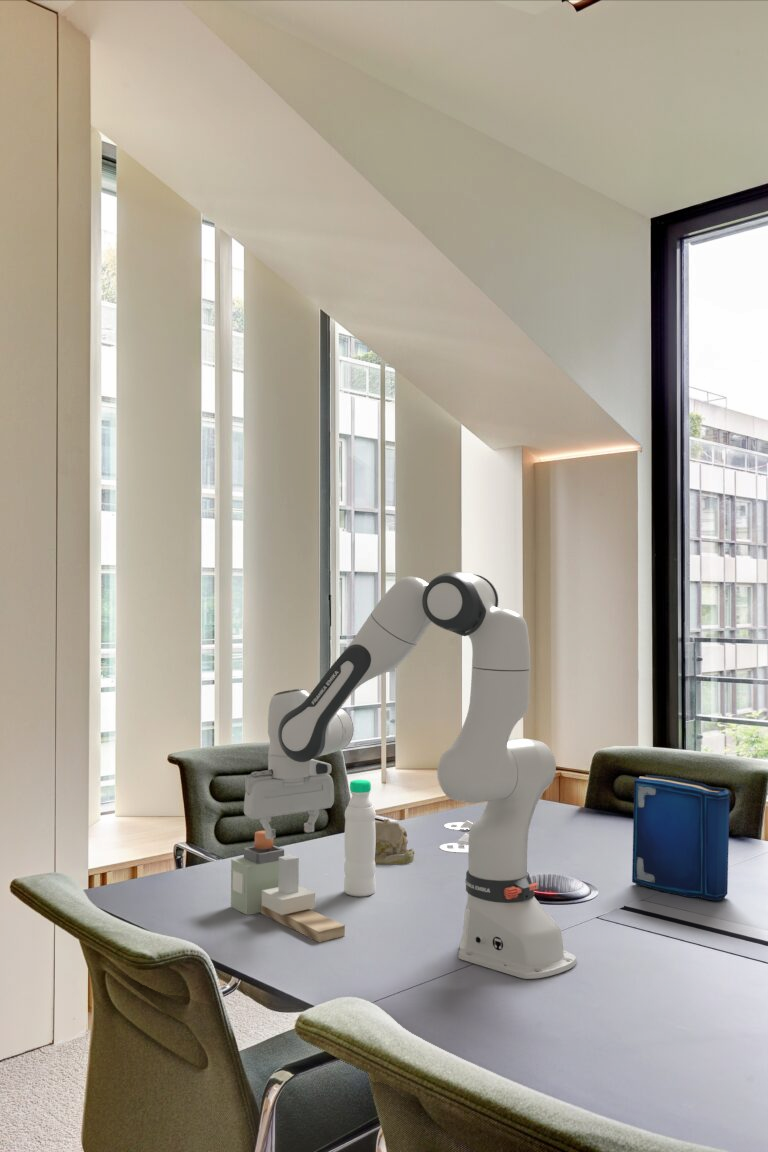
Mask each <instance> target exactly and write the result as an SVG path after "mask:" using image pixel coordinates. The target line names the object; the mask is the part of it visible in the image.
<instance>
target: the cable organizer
mask: <svg viewBox="0 0 768 1152" xmlns="http://www.w3.org/2000/svg"><path fill="white" fill-rule="evenodd" d="M473 823H474V822H471V821H469V820H468V819H466V820H465V822H461V821H460V822H458V821H457V822H456V821H455V822H447V823H445V824H444V825H443V827H444V829H448V830H453V829H454V830H453V831H461V830H460V829H464V830H463V831H469V830H470V828H471V827H472V825H473ZM453 826H455V827H453ZM466 829H468V830H466ZM459 842H467V843H459ZM468 843H469V833H464V834H463V835H462V836H461V837H460V838H459V839H458V840H457V842H449V843H443V844H440V846H439V850H441V851H444V852H448V853H454V852H456V853H457V854H458V853H459V854H468ZM448 847H452V848H448ZM459 847H463V848H459Z"/></svg>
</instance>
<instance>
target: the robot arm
mask: <svg viewBox="0 0 768 1152" xmlns="http://www.w3.org/2000/svg"><path fill="white" fill-rule="evenodd" d="M498 606H499V595H498V592H497V589H496V587H495V586H494V584H493V583H492V582H491V581H489V579H487V578H485V577H484V576H482V575H479V574H475V573H470V572H466V571H457V572H456V571H455V572H444V573H441V574H439V575H437V576H436V577H434V578H433V579H431V580H430V582H429V583H428V582H427V581H425V580H424V579H422V578H419V577H416V576H410V575H409V576H404V577H401V578H399V580H397V582H395V583H394V584H393V585H392V586H391V587H390V589H388V590H387V592H386V593H385V594H384V595H383V596H382V597H381V599H380V600H379V601H378V602H377V604H376V605H375V607H374V608H373V610H372V611H371V613H370V614H369V616H368V617H367V618H366V620H365V622H364V623H363V624H362V626H361V627H360V628H359V630H358V632H357V633H356V634H355V637H353V639H352V640H351V641H350V643H348V645H347V647H346V648H345V649H344V651H343V652H342V653H341V655H339V657H338V658H336V661H334V662H333V664H332V665H331V667H330V668H328V670H327V672H326V673H324V676H322V678H321V679H320V681H319V682H318V683H317V684H316V686H315V687H314V689H313V690H312V691H311V692H310V693H309V691H307V690H306V689H303V688H295V689H290V690H289V689H288V690H283V691H279V692H277V693H274V694H273V695H272V697H270V698H271V699H270V702H269V707H268V716H267V717H268V718H267V734H268V738H269V748H268V753H267V754H268V755H267V760H268V761H267V762H268V763H267V770H266V769H265V770H261V771H252V772H251V773H250V774H249V775H248V776H247V777H246V778H245V781H244V783H245V784H244V786H245V788H244V790H245V794H244V799H243V800H244V801H243V813H244V816H246V817H247V818H249V819H252V820H259V822H260V824H261V826H262V828H263V829H264V831H265V838H266V839H273V840H274V839H275V838H276V836H277V835H276V829H274V828H272V826H271V824H270V823H271V822H272V817H278V816H279V817H280V816H285V815H290V814H291V815H292V814H297V813H303V812H307V814H308V815H309V817H308V819H307V822H304V823H303V827H304V828H303V832H304V833H307V834H308V833H314V832H315V823H316V821H317V820H318V817H319V815H320V810H324V809H325V810H326V809H330V808H332V806H333V805H334V803H335V788H334V785H335V784H334V780H333V777H332V776H331V775H330V774H331V773H332V764H330V763H328V762H325V761H321V760H318V759H317V758H318V757H322V756H325V755H330V754H333V753H336V752H339V751H340V750H343V749H345V748H346V747H347V746H348V745H349V744H350V743H351V742H352V739H353V736H354V723H353V720H352V717H351V716H350V714H349V713H348V711H346V710H345V709H344V708H342V707H343V706H344V704H345V703H346V702H347V701H348V699H349V698H350V697H351V695H352V694H353V693H354V692H355V691H356V690H357V689H358V688H359V687H361V685H363V684H364V683H367V682H368V681H370V680H372V679H374V678H376V677H379V676H381V675H384V674H386V673H388V672H390V671H394V670H396V668H398V667H399V666H400V665H401V664H402V663H403V662H404V661H405V660H407V658H408V657H409V656H410V654H412V652H413V650H414V649H416V648H415V647H417V646H418V644H419V642H420V640H421V639H422V637H424V635H425V633H426V631H427V630H428V629H429V628H430V627H431V626H433V625H435V626H437V627H438V628H441V629H444V630H446V631H449V632H452V633H455V634H457V635H459V636H462V637H467V636H468V638H469V640H470V643H471V647H472V656H471V657H472V659H471V679H470V682H471V683H470V694H469V695H470V697H469V703H468V704H469V706H468V711H467V715H466V718H465V721H464V722H463V726H462V728H461V729H460V732H459V734H458V735H457V737H456V739H455V740H454V741H453V743H452V744H451V746H450V747H448V748H447V749H446V750H445V751H444V753H443V754H442V755H441V756H440V758H439V761H438V764H437V773H436V774H437V781H438V784H439V786H440V789H441V790H442V792H443V794H445V796H446V797H447V798H448V799H449V800H452V801H456V802H460V803H461V802H463V803H472V804H478V803H485V802H487V803H486V806H485V808H484V810H483V812H482V814H481V815H480V816H479V818H478V819H477V820H475V822H473V823H474V824H473V825H472V827H471V828H470V831H469V830H468V831H469V832H468V835H469V843H467V844H468V853H467V854H468V855H467V856H468V857H467V858H468V869H467V871H466V873H465V881H464V882H465V891H466V893H467V900H466V905H465V910H464V919H463V926H462V935H461V939H460V942H459V950H458V959H460V960H462V961H465V962H468V963H472V964H474V965H478V966H481V967H485V968H488V969H491V970H493V971H498V972H501V973H504V974H507V975H511V976H514V977H517V978H520V979H523V980H526V979H527V980H531V979H532V980H533V979H541V978H547V977H551V976H554V975H557V974H561V973H563V972H567V971H568V970H570V969H573V968H574V967H575V966H576V965H577V964H578V963H577V962H578V961H577V956H576V955H574V954H573V953H570V952H569V951H567V950H565V949H564V941H563V940H564V939H563V934H562V930H561V927H560V926H559V925H558V923H557V922H556V921H555V920H554V919H553V918H552V917H551V915H550V914H549V913H548V911H547V910H546V909H545V908H544V907H543V906H542V905H541V903H540V902H539V900H537V898H536V897H535V890H538V889H539V887H537V886H538V885H539V882H534V883H533V882H532V879H531V877H530V874H529V873H528V843H529V832H530V827H531V822H532V819H533V816H534V813H535V810H536V807H537V806H538V803H539V801H540V799H541V797H542V795H543V793H544V792H545V791H546V790H547V789H548V788H549V787H550V785H552V784H553V782H554V779H555V777H556V772H557V770H556V769H557V766H556V765H557V762H556V759H555V756H554V753H553V752H552V749H551V748H550V747H549V746H548V745H547V744H546V743H544V742H543V741H541V740H537V739H536V740H535V739H531V738H523V737H516V738H510V737H511V734H512V732H513V730H514V728H515V726H516V725H517V723H518V722H519V721H520V720H522V719H523V718H524V717H525V716H526V714H527V713H528V710H529V708H530V689H531V688H530V687H531V686H530V685H531V662H532V661H531V660H532V659H531V646H530V636H529V635H530V634H529V630H528V624H527V621H526V619H525V618H524V616H522V615H521V614H520V613H518V612H516V611H514V610H510V609H507V608H499V607H498Z"/></svg>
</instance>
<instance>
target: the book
mask: <svg viewBox="0 0 768 1152" xmlns="http://www.w3.org/2000/svg"><path fill="white" fill-rule="evenodd" d="M633 783H634V784H633V785H634V786H633V787H634V789H633V821H632V822H633V828H632V829H633V832H632V867H631V868H632V870H631V878H632V879H631V882H632V883H633V884H636V885H640V886H642V887H643V886H644V887H647V888H650V889H652V890H657V891H659V892H664V893H667V894H673V895H677V896H682V897H686V898H702V899H705V900H709V901H712V902H713V901H714V902H717V901H721V900H723V899H725V898H726V896H727V895H728V882H729V881H728V879H729V876H728V875H729V872H728V871H729V845H730V844H729V841H730V840H729V839H730V838H729V837H730V836H729V834H730V833H729V832H730V798H731V797H730V795H731V794H730V791H729V790H728V789H726V788H725V789H724V788H720V787H713V786H709V785H707V784H705V783H702V782H696V781H692V780H687V779H683V778H682V779H681V778H677V777H671V776H670V777H669V776H660V775H652V774H651V775H649V774H645V776H639V778H638V777H634V782H633Z"/></svg>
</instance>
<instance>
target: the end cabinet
mask: <svg viewBox="0 0 768 1152" xmlns="http://www.w3.org/2000/svg"><path fill="white" fill-rule="evenodd" d="M288 855H290V854H289V853H286V852H285V848H282V847H280V846H277V845H274V844H273V848H270V849H257V848H255V845H254V846H247V847H244V848H243V857H237V858H231V859H230V861H231V862H230V870H231V871H230V907H231V908H233V909H235V910H236V911H239V912H241V913H243V914H245V915H247V916H249V915H254V914H257V913H261V903H262V890H266V889H271V888H276V887H278V875H279V857H282V856H288Z"/></svg>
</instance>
